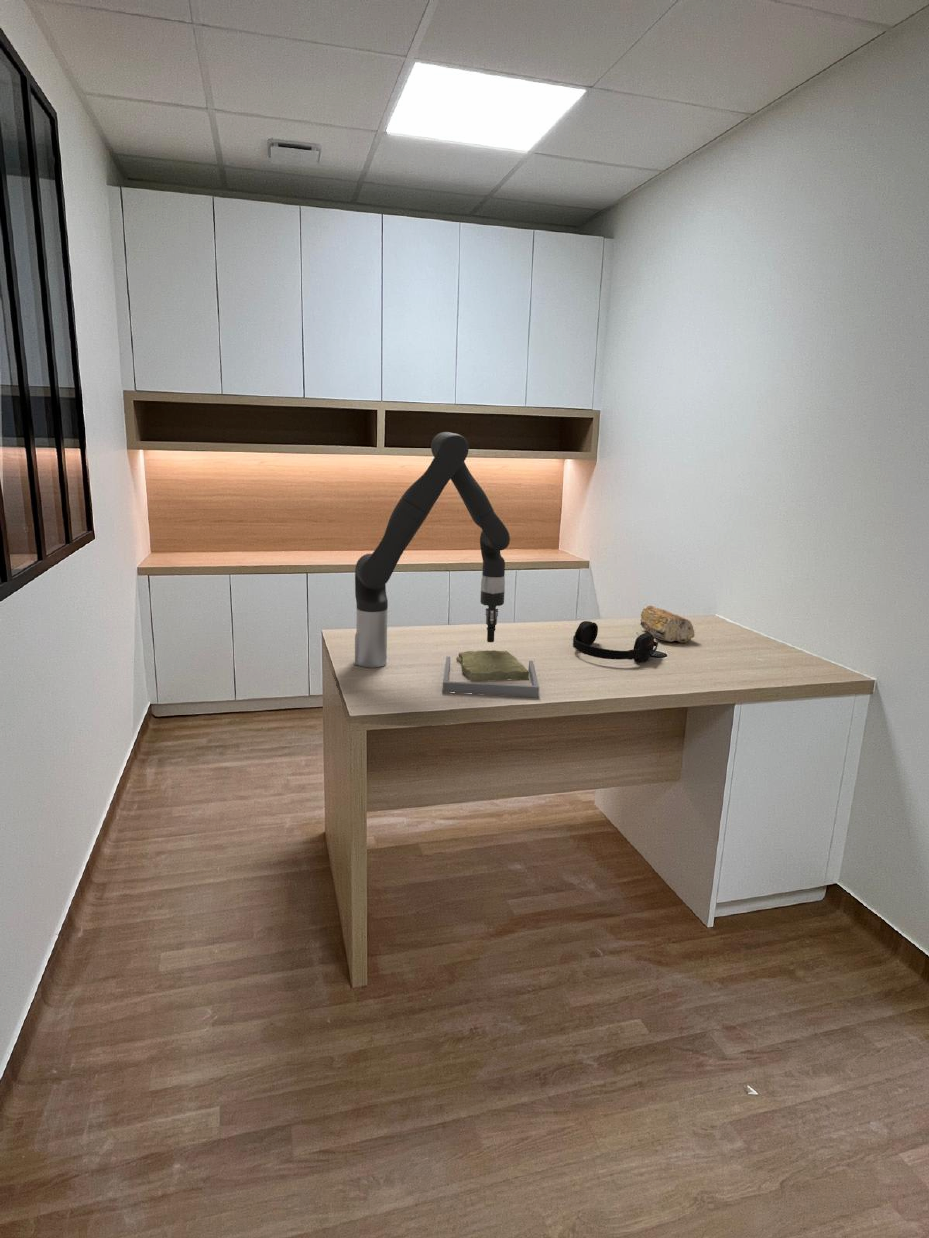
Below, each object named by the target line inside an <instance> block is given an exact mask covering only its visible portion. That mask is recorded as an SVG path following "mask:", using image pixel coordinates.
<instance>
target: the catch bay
mask: <svg viewBox="0 0 929 1238" xmlns="http://www.w3.org/2000/svg"><path fill="white" fill-rule="evenodd" d="M450 668H451V656H446V659H445V666H444V673H443V681H442V693H443V692H455V693H454V694H457V693H472V694H471V695H476V694H484V695H483V696H496V695H505V696H504V697H516V698H517V696H518V697H520V698H521V697H522V698H539V693H540V685H539V682H538V676H537V672H536V667H535V663H534V660H528V671H529V674H530V675H529V681H530V684H532V685H529V684H527V685H526V684H512V683H511V684H508V683H490V682H489V683H488V682H473V681H468V682H467V681H452V680H451V681H450V680H449V678H450V670H451V669H450Z"/></svg>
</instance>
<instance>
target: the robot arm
mask: <svg viewBox="0 0 929 1238" xmlns="http://www.w3.org/2000/svg"><path fill="white" fill-rule="evenodd" d="M430 448H431V454H432V456H433V459H432V460H431V462H430V464H429V466H428V467H427V469H426V470H425V471H424V472H423V474H422V475H421V476H420V477H419V478H418V479H416V481H414V482H413V483H412V484H411V485H410V486H409V487H408V488H407V489H406V490H405V492H404V493H403V494H402V496H401V498H399V500H398V502H397V504H396V505H395V507H394V509H393V511H392V512H391V514H390V516H389V520H388V522H387V526H386V528H385V532H384V534H383V537H382V539H381V541H380V542H379V544H378V545H377V547H376V548H375V550H373V552H372V553H366V554H364V555H361V556H360V557H359V559H358V560H357V562H356V564H355V568H354V569H355V570H354V584H355V585H354V593H355V601H356V624H355V625H356V626H355V627H356V632H355V634H354V665H355V666H360V667H364V668H379V667H383V666H385V665H387V661H388V660H387V659H388V655H387V654H388V653H387V651H388V612H389V611H388V605H389V603H388V597H387V587H386V584H387V583H388V582H389V580H390V579H391V577H392V575H393V573H394V570H395V568H396V567H397V564H398V562H399V561H400V559H401V557H402V555H403V553H404V551H405V550H406V548H407V547H408V545H409V544H410V543H411V541H412V540H413V539H414V537H415V535H416V534H417V532H418V531H419V529H420V527H421V526H422V525H423V524H424V522H425V520H426V519H427V517H428V515H430V512H431V510H432V508H433V507H434V506H435V504H436V503H437V500H438V499H439V497H440V496H441V494H442V492H443V490H444V489H445V487H446V486H447V484H448V483H449V482H450V480H451V482H452V484H453V485H454V487H455V489H456V490H457V492H458V494H459V496H460V498H461V499H462V502H463V504H464V506H465V507H466V508H465V509H466V510H467V511H468V513H469V515H470V517H471V519H472V521H473V522H474V523H475V525H476V526H477V527H479V528H480V529H481V531H480V532H481V533H480V537H479V544H480V546H479V547H480V551H481V552H480V553H481V558H482V572H481V573H482V574H481V575H482V576H481V582H480V604H481V605H483V606H486V608H485V624H486V631H487V633H486V634H487V635H486V636H487V637H486V642H487V643H495V632H496V625H497V624H498V616H499V609H498V608H497V607H500V606H503V605H504V603H505V592H506V587H505V586H506V580H505V578H506V577H505V574H506V573H505V572H506V561H505V559H504V557H503V556H502V554H501V551H503V550H505V549H507V548H508V547H509V544H510V542H511V537H510V533H509V530H508V528H507V527H506V526H505V523H504V522H503V521H502V520H501V518H500V517H499V516H498V515H497V514H496V512H495V510H494V508H493V506H492V504H491V501H490V500H489V499H488V496H487V494H486V493H485V491H484V489H483V488H482V486H481V485H480V484H479V482H477V480H476V479H475V478H474V476H473V475H472V473H471V471H470V470H469V469H468V467H467V464H466V463H465V461H466V459H467V457H468V454H469V449H470V448H469V443H468V441H467V439H466V438H465V437H464V436H463V435H461V434H459V433H454V432H449V431H443V432H440V433H437V434H436V435H435V436H434V437H433V439H432V441H431V445H430Z"/></svg>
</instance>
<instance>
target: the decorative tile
mask: <svg viewBox="0 0 929 1238" xmlns="http://www.w3.org/2000/svg"><path fill="white" fill-rule="evenodd" d="M455 659H456V662H457V663H458V662H459V663H460V664H459V663H458V664H459V665H460V666H461V667H462V669H461V672H462V671H463V672H462V674H463V675H464V674H465V675H466V676H467V677H466V678H467V679H468V678H469V679H468V680H470V681H469V682H489V681H488V680H495V681H509V680H508V679H516V680H528V679H529V678H530V675H529V669H527V667H526V666H525V665H524V664H523V663H522V662H520V661H519V660H518V659H517V658H516V657H515V656H514V655H513V654H511V653H510V651H508V650H496V649H495V650H488V649H487V650H476V651H474V650H466V651H462V652H459V654H458V656H456V658H455ZM461 667H460V668H461ZM465 675H464V676H465ZM527 678H528V679H527Z"/></svg>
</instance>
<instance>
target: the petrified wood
mask: <svg viewBox="0 0 929 1238" xmlns="http://www.w3.org/2000/svg"><path fill="white" fill-rule="evenodd" d="M639 625H641V628H643V630H644V631H646V632H647V633H648V634H652V635H653V637H654V639H655V638H656V639H658V640H661V641H665V642H674V641H676V642H678V643H681V644H684V643H686V642H689V641H691V640H692V639H693V638H694V637H695V629H694V626H693V624H692V621H691V620H689V619H687V618H684V617H683V616H680V615H678V614H674V613H672V612H670V611H668V610H665V609H662V608H658V607H655V606H652V605H647V607H646V608H643V610H642V611H641V613H640V624H639Z"/></svg>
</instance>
